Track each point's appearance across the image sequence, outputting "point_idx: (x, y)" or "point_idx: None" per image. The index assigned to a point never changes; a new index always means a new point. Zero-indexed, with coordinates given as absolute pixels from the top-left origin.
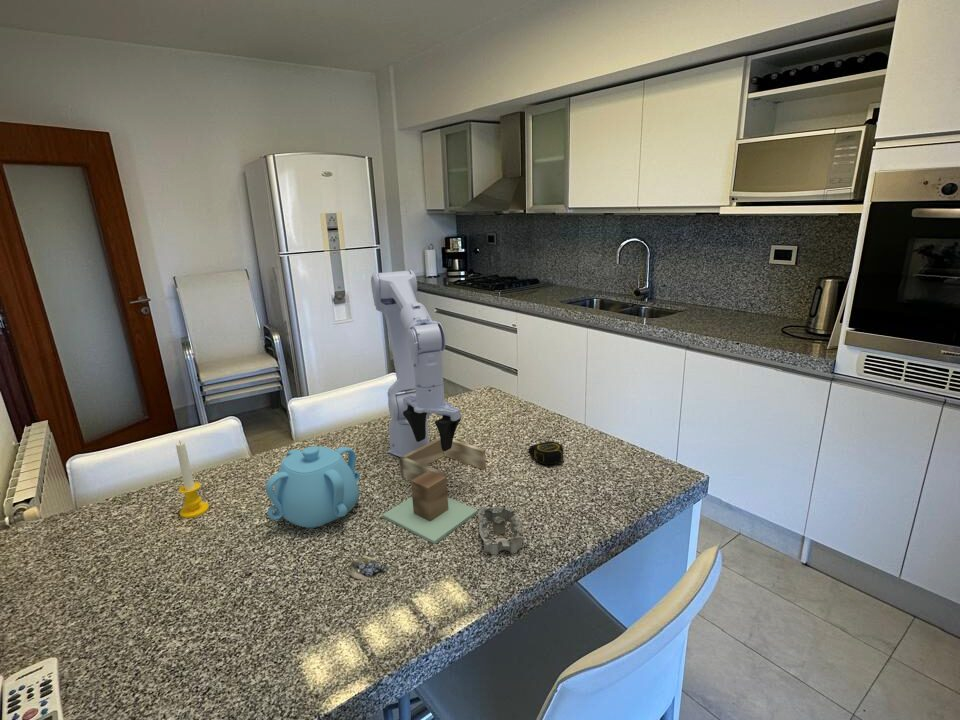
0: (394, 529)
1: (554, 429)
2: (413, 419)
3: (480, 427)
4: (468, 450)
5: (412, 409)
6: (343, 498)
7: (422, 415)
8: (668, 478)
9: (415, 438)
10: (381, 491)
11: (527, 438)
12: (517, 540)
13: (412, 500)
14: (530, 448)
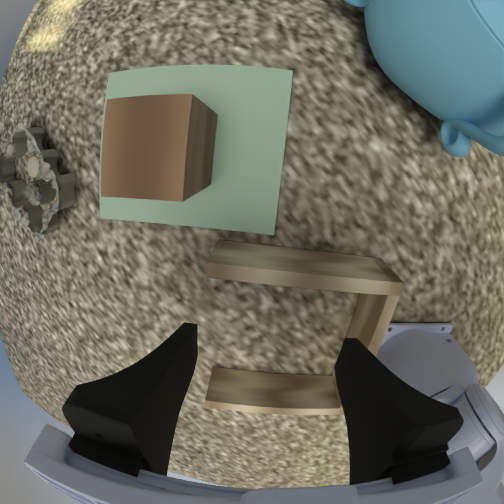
0: (225, 53)
1: (202, 469)
2: (389, 414)
3: (317, 452)
4: (253, 397)
5: (415, 461)
6: (375, 2)
7: (361, 452)
8: (32, 391)
9: (362, 344)
10: (382, 172)
11: (219, 452)
12: (2, 168)
13: (265, 162)
14: None
